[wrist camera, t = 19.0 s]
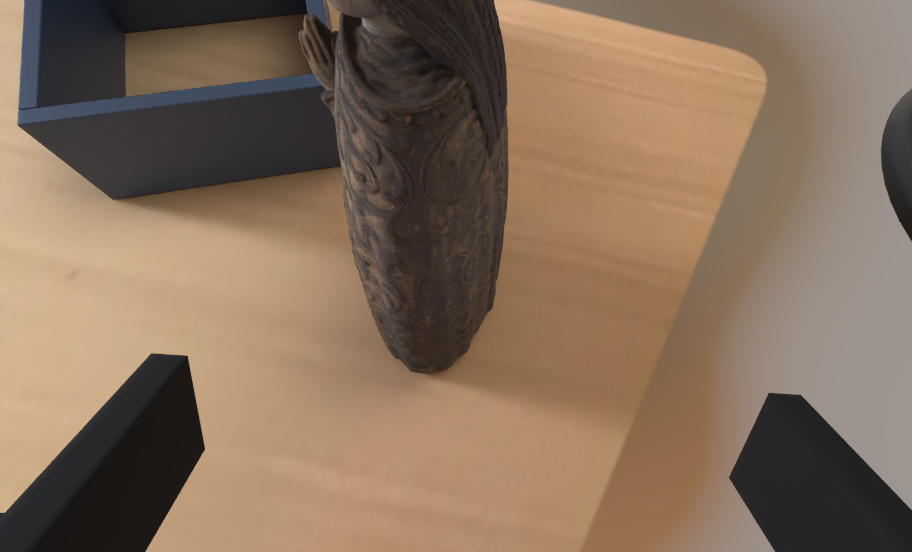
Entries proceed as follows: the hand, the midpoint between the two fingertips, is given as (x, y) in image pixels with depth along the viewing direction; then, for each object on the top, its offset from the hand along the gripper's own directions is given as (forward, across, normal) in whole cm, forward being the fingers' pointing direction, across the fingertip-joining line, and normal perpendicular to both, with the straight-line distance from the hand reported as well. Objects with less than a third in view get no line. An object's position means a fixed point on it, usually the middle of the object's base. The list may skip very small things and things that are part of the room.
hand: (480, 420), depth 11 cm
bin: (+24, -15, +3) cm, 28 cm away
